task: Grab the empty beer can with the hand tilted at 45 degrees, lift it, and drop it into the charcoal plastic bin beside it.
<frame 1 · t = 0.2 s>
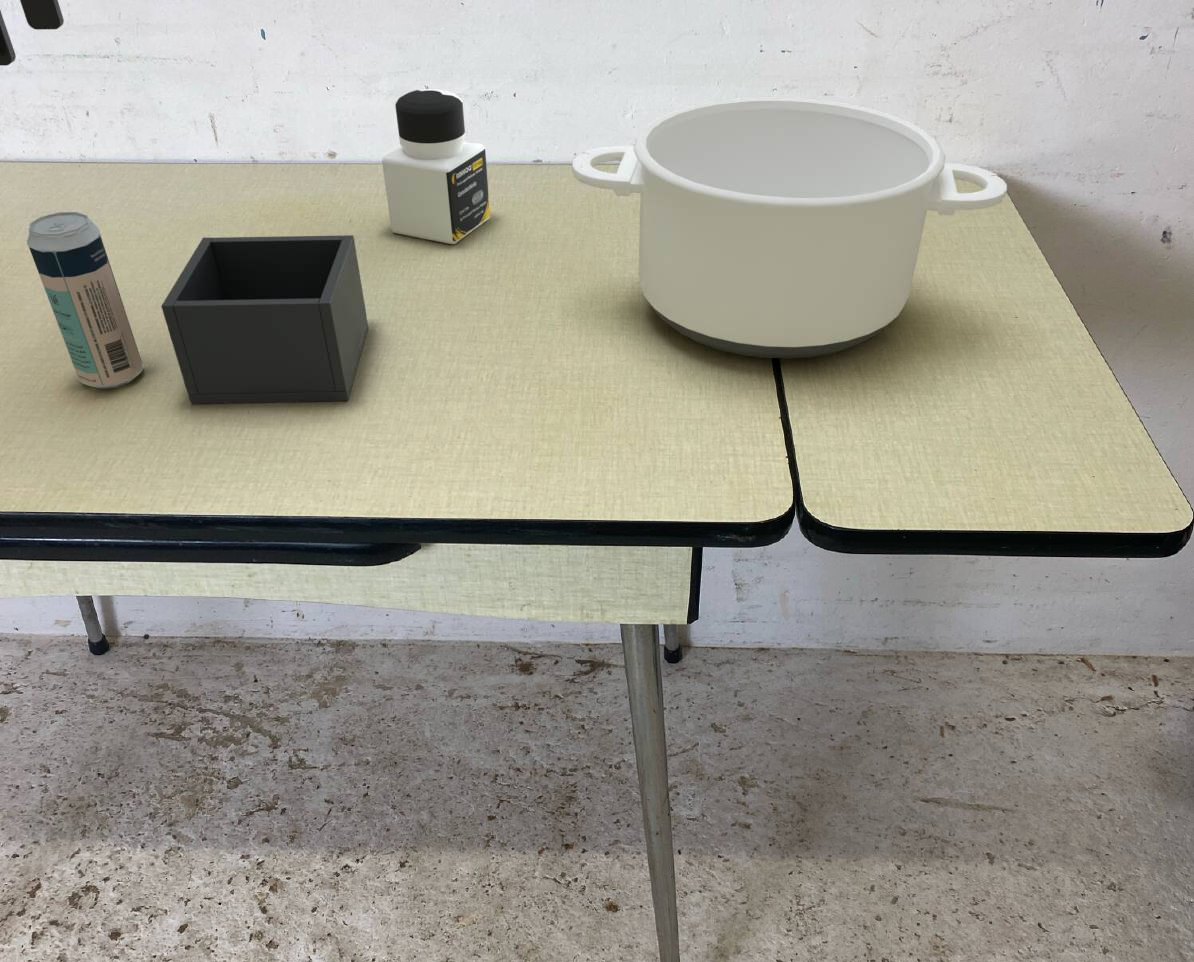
hand: (24, 45, 68), 22 cm above the table, tool pointing down, fingers open, 8 cm apart
pot: (768, 312, 88), on the table
bin: (284, 363, 82), on the table
medicine bottle: (441, 228, 102), on the table
beer can: (113, 378, 80), on the table
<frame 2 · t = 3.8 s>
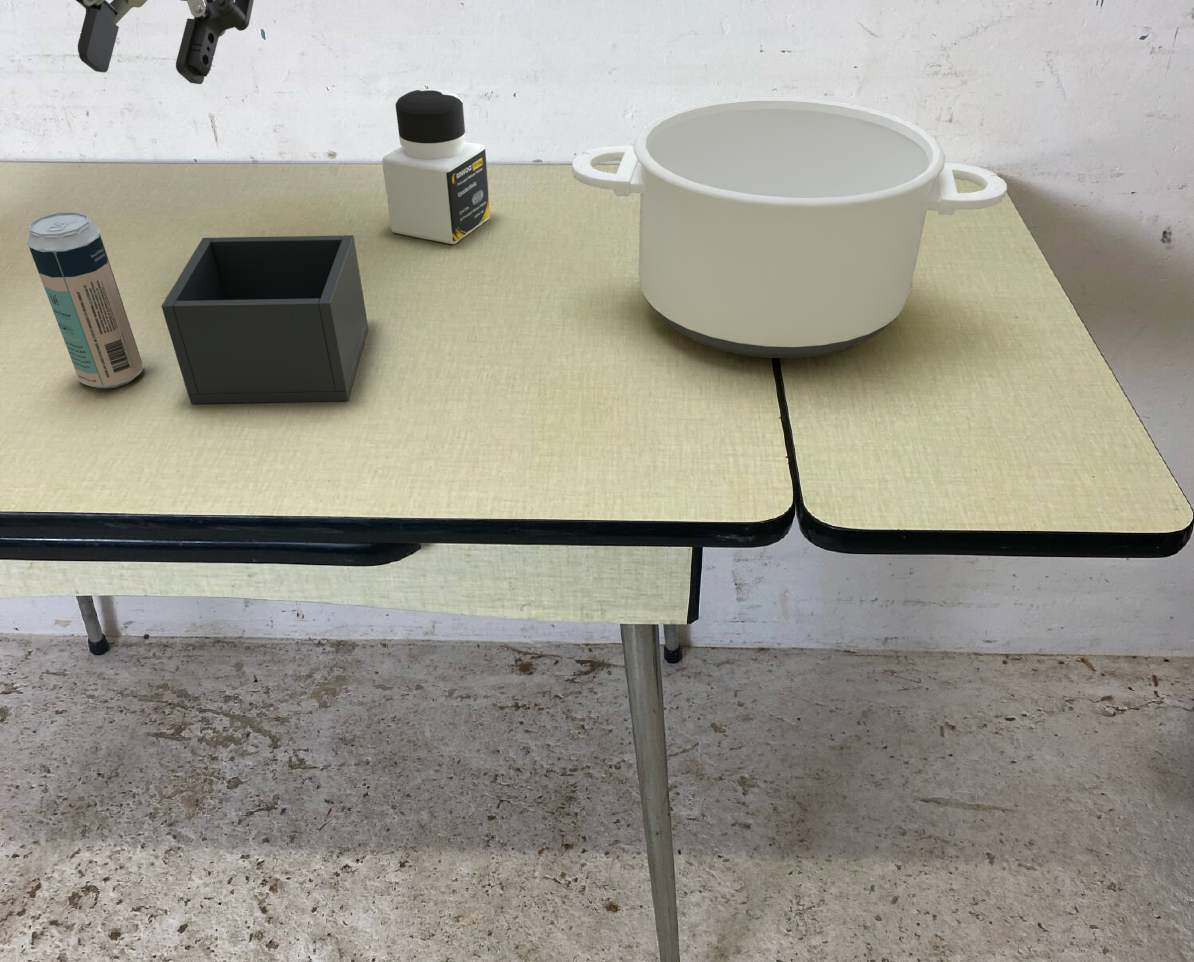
hand: (139, 72, 76), 19 cm above the table, tool tilted 45°, fingers open, 8 cm apart
nothing on the table moved.
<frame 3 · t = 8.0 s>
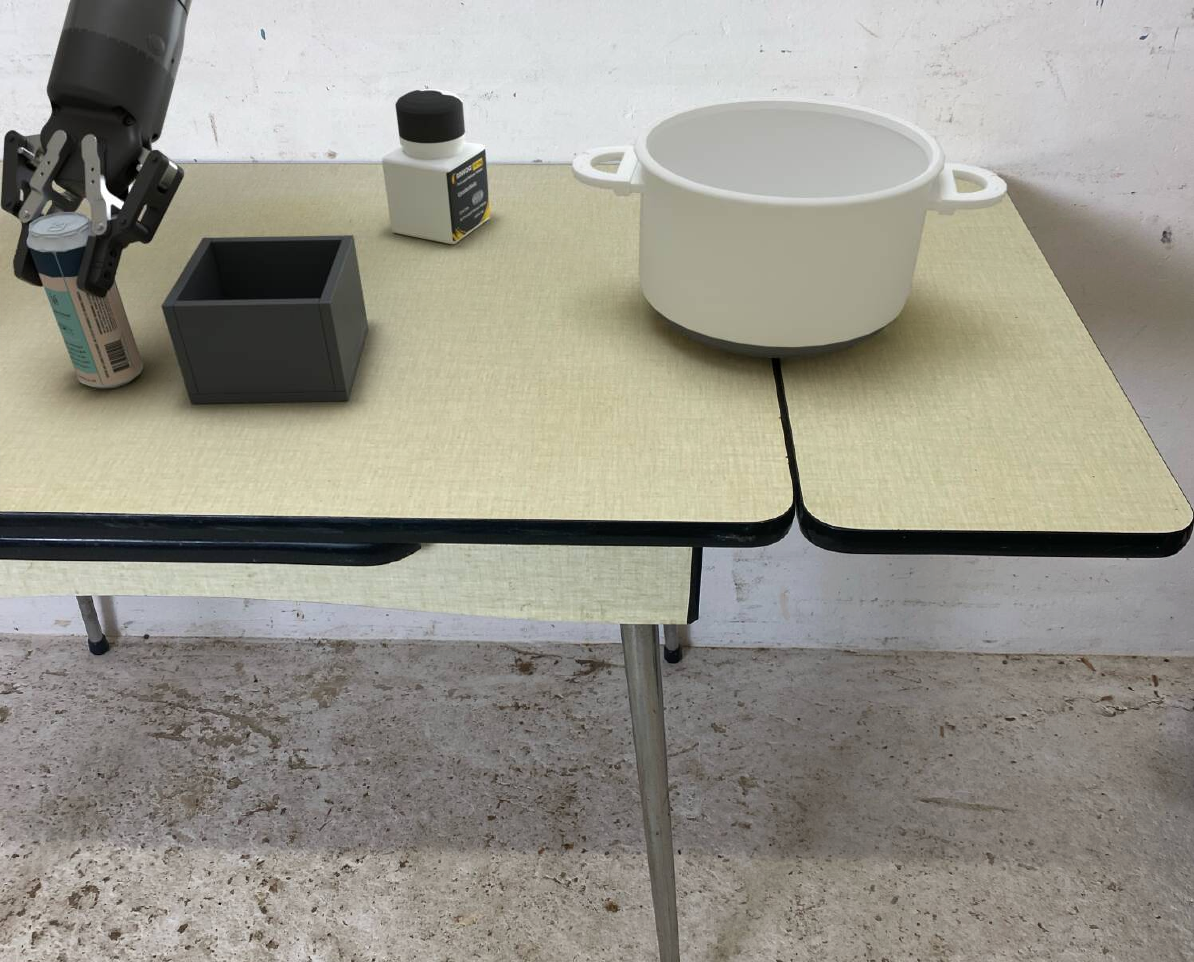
hand: (59, 286, 74), 8 cm above the table, tool tilted 45°, fingers closed on beer can, 4 cm apart
beer can: (113, 378, 80), on the table, touching gripper
everything else where it was.
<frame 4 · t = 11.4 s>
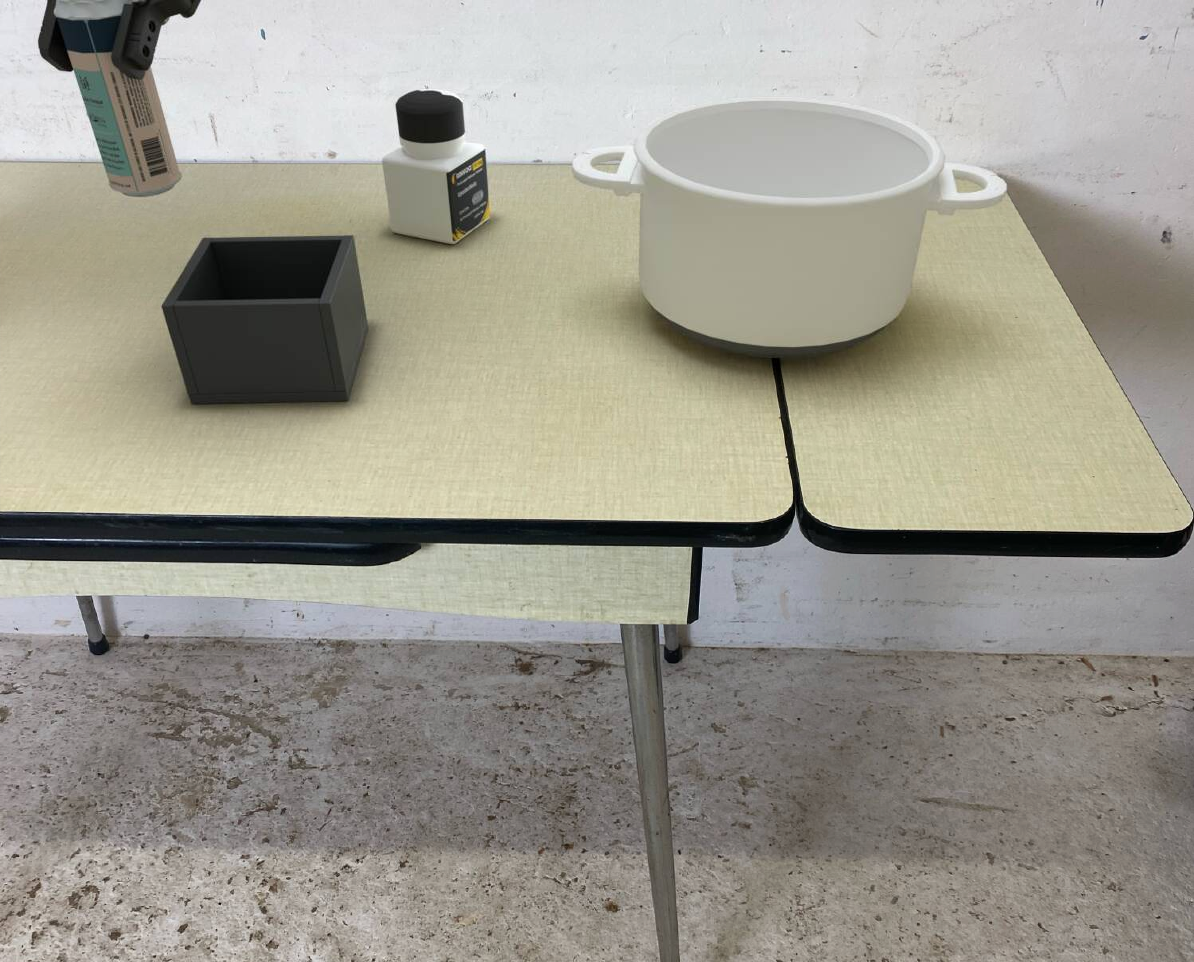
hand: (90, 67, 65), 22 cm above the table, tool tilted 45°, fingers closed on beer can, 4 cm apart
beer can: (148, 190, 72), point 14 cm above the table, touching gripper
everything else where it was.
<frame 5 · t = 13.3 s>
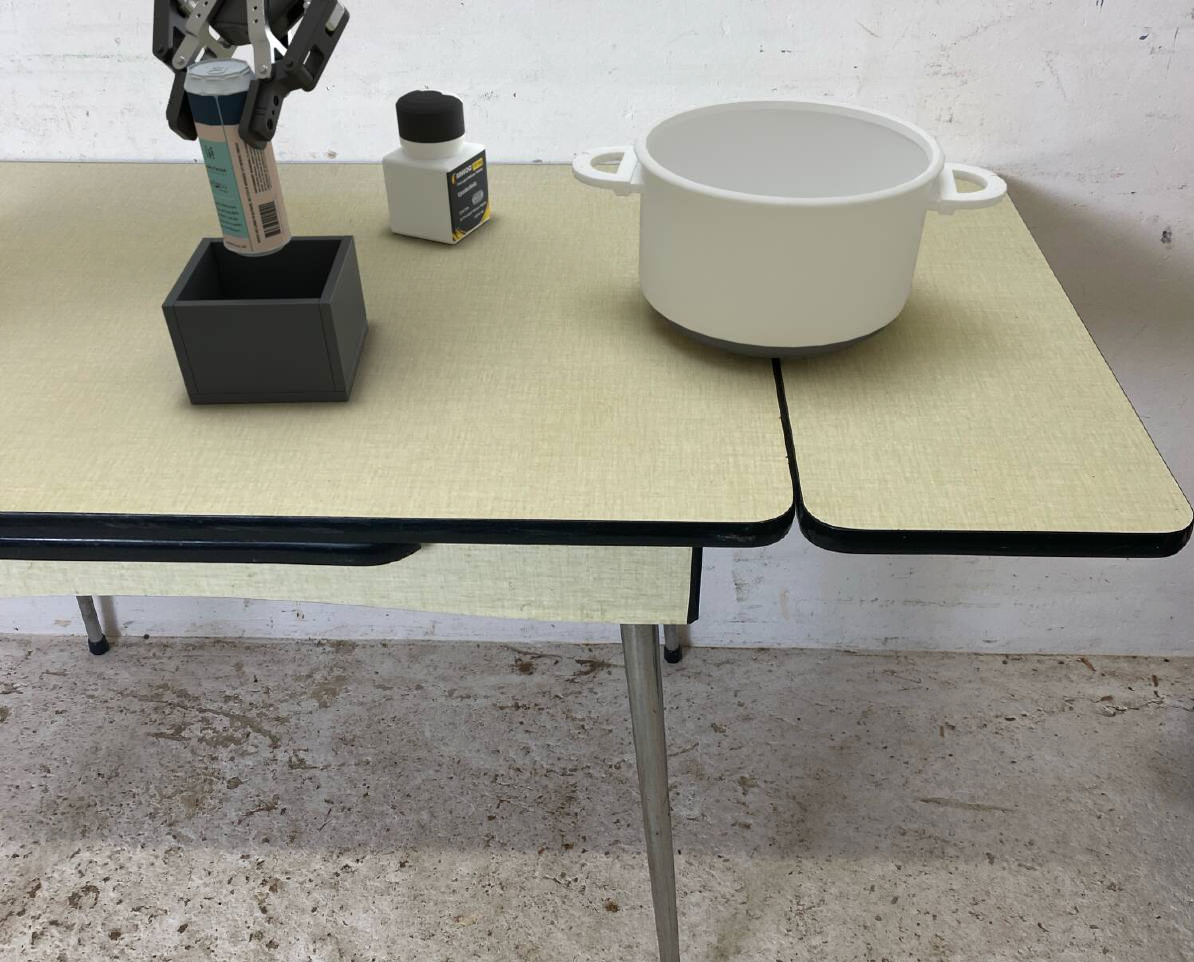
hand: (215, 138, 69), 17 cm above the table, tool tilted 45°, fingers closed on beer can, 4 cm apart
beer can: (260, 248, 76), point 9 cm above the table, touching gripper
everything else where it was.
when the fingers open (14 cm above the table, at t = 14.8 s): beer can drops 5 cm, resting on bin.
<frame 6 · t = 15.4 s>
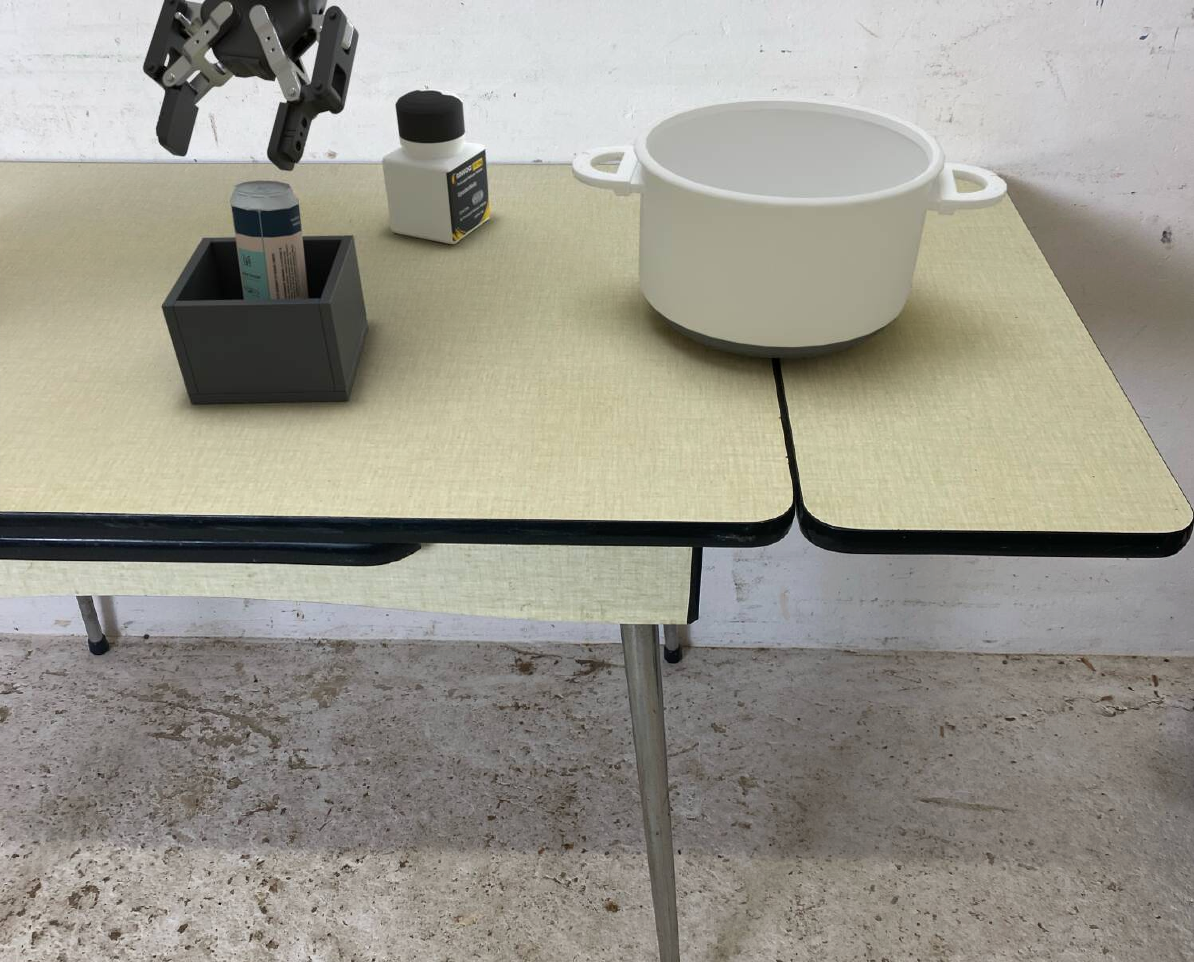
hand: (223, 157, 70), 16 cm above the table, tool tilted 45°, fingers open, 8 cm apart
beer can: (282, 351, 81), point 1 cm above the table, touching bin
everything else where it was.
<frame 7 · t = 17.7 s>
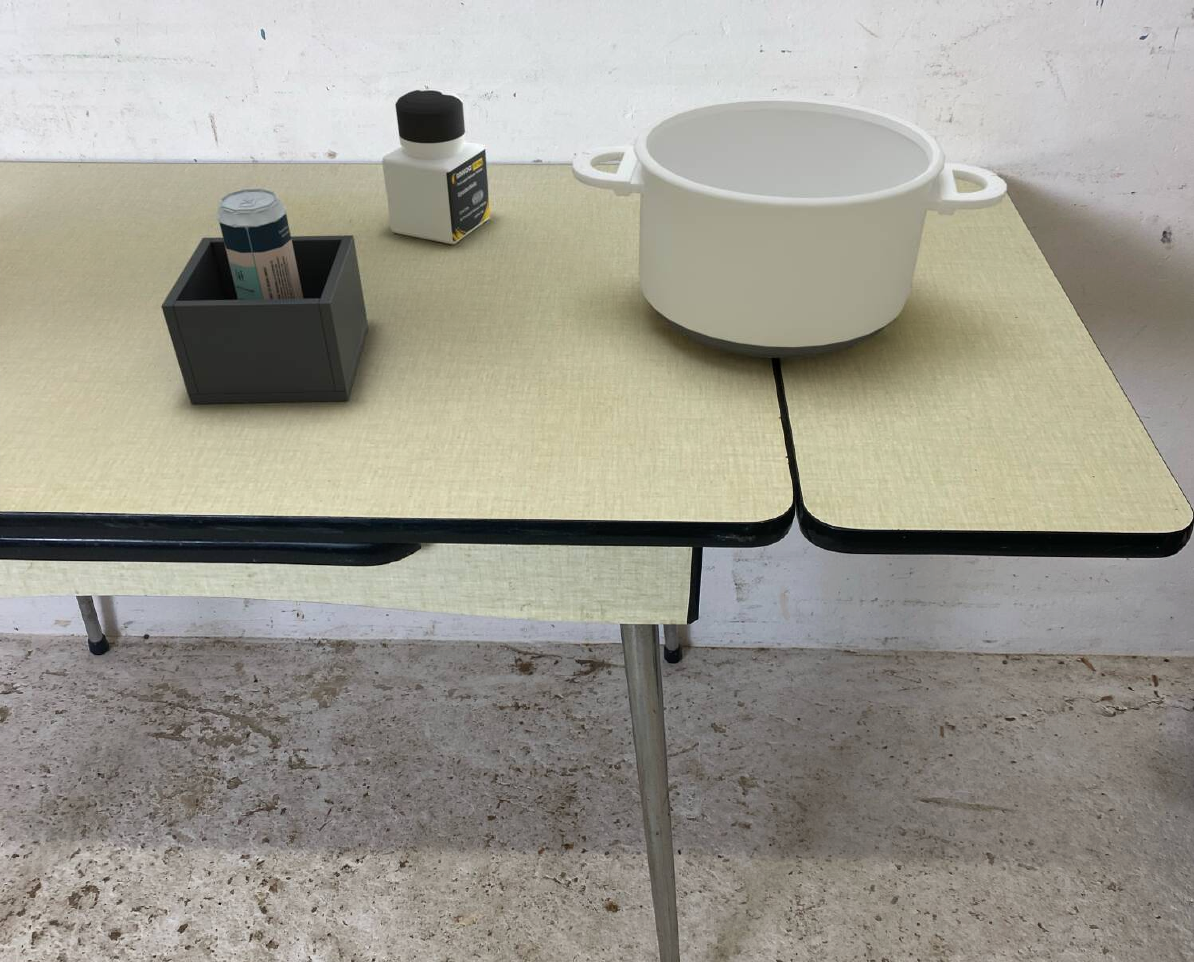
nothing on the table moved.
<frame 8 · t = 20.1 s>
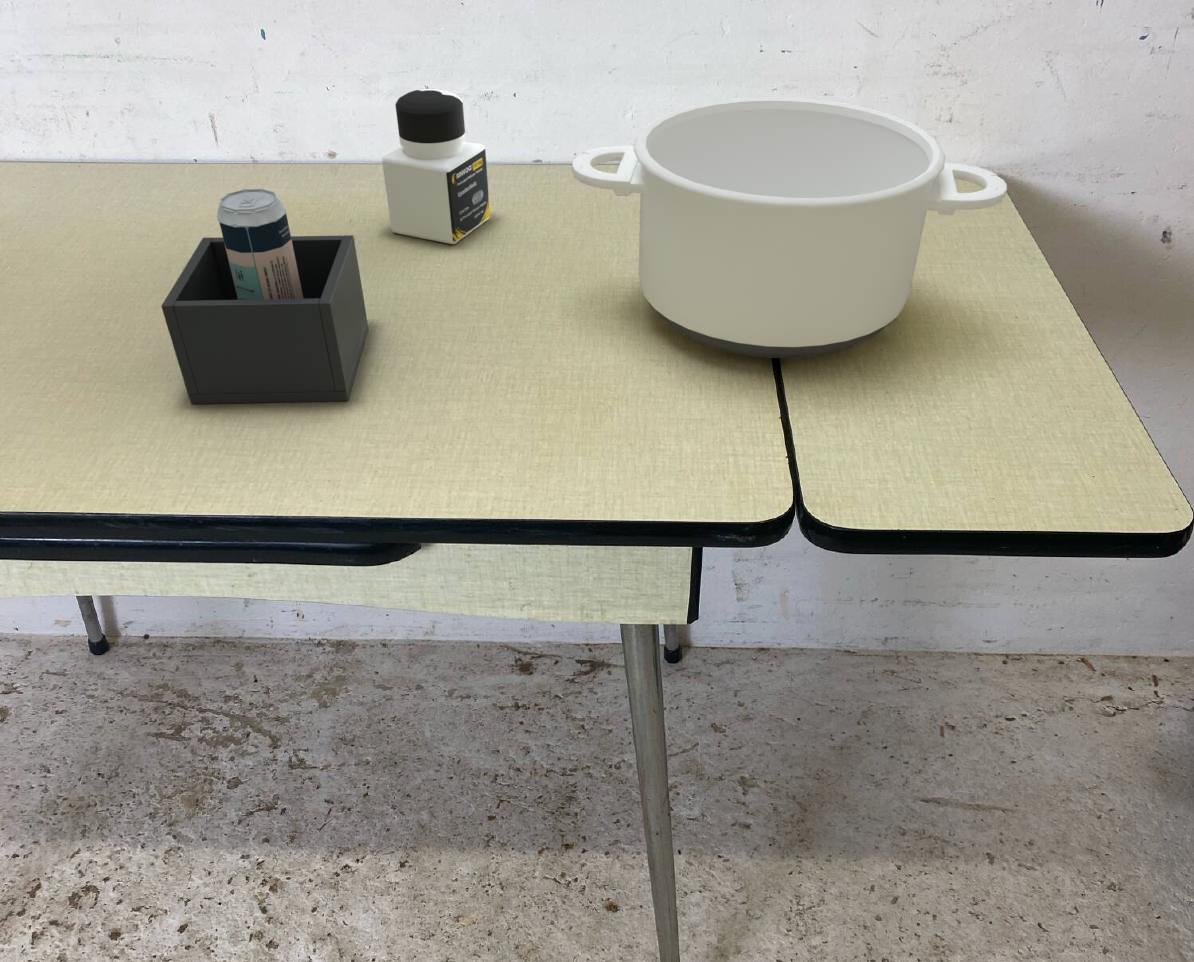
nothing on the table moved.
at the end: beer can inside the target area in the bin (0.2 cm from its centre), point 0.6 cm above the bin's base; the gripper is holding nothing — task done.
